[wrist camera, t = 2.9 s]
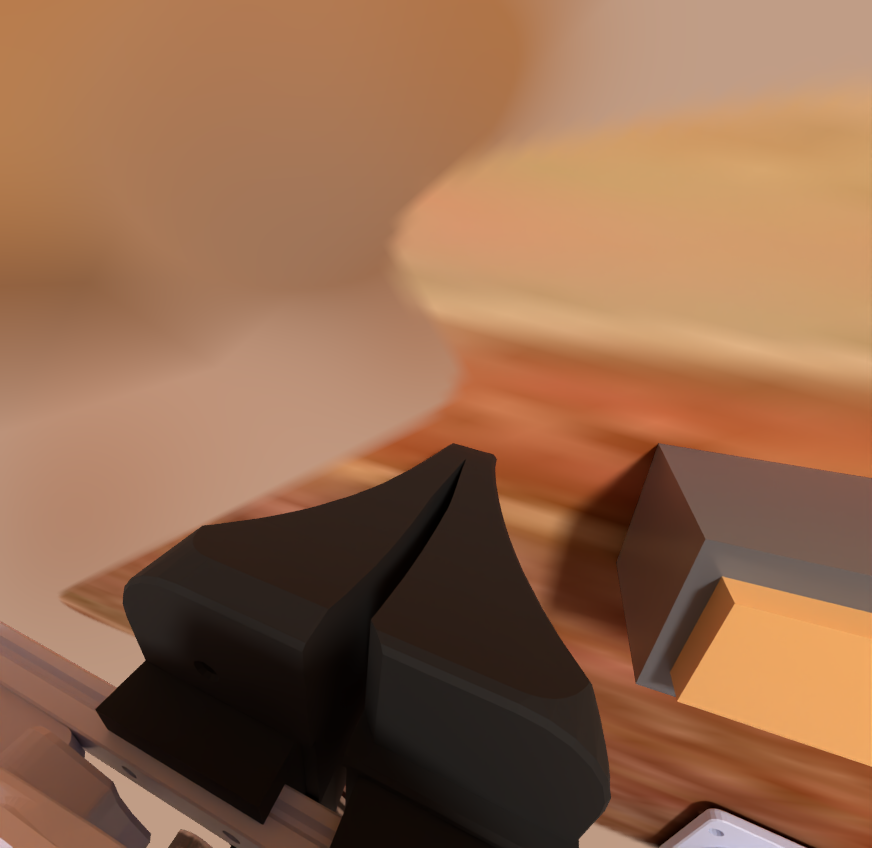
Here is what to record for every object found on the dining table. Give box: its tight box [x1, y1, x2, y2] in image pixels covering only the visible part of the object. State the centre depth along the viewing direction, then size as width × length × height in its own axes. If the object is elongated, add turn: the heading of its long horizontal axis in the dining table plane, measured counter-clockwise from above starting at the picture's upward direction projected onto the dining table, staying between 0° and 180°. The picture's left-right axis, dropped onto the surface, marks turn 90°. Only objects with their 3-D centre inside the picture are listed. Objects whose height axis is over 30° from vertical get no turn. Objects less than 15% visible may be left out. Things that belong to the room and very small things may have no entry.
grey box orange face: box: [616, 443, 872, 766], centre depth 8 cm, size 4×7×5 cm, turn 88°
